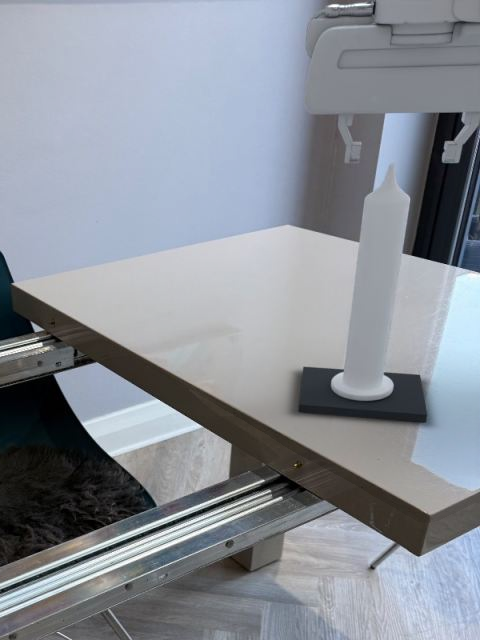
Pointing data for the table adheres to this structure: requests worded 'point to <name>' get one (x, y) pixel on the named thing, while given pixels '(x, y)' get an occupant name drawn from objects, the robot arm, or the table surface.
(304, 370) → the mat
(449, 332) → the table surface
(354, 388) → the candle
